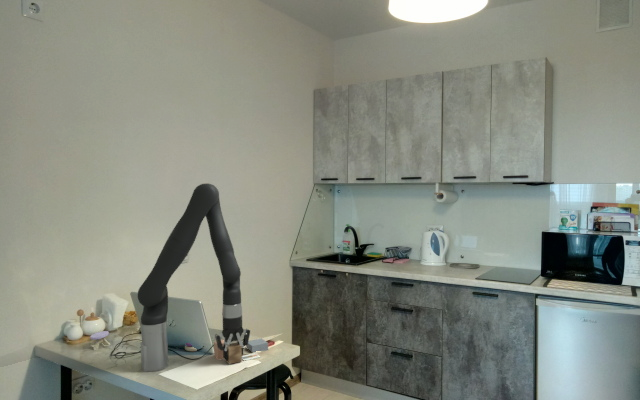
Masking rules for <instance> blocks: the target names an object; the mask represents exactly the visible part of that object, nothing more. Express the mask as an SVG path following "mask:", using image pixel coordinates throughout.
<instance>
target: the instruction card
mask: <svg viewBox="0 0 640 400" xmlns="http://www.w3.org/2000/svg"><path fill="white" fill-rule="evenodd" d="M258 358H261V356H260V355H259V354H257V353H250V354H245V355H243V356H242V359H243V360H244V361H243V360H242V361H243V362H245V360H246V361H251V360H255V359H258Z"/></svg>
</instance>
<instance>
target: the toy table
mask: <svg viewBox="0 0 640 400" xmlns="http://www.w3.org/2000/svg"><path fill="white" fill-rule="evenodd" d="M109 335H110V333H109V331H108V330H104V331H101V330H100V331H98V332H95V333H93V334H91V335H90V337H89V339H90V340H93V341H92V342H91V343H90V345H95V346H94V347H93V349H94V348H97V347H98V346H99V347H100V344H102V343H103V344H104V345H111V343H110V342H109V341H108V340H107V339H106V337H108V336H109ZM90 345H89V346H90ZM104 345H103V346H104Z"/></svg>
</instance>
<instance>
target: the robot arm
mask: <svg viewBox="0 0 640 400" xmlns="http://www.w3.org/2000/svg"><path fill="white" fill-rule="evenodd" d="M205 218H206V221H207V226H208V231H209V236H210V241H211V244H212V247H213V250H214V254H215V257H216V258H217V261H218V265H219V269H220V274H221V276H222V277H221V278H222V312H221V315H222V316H221V317H222V331H221V333H218V334H217V333H216V334H214V338H215V341H216V342H217V346H218V348H219V349H220V350H223V358H224V359H223V360H224V361H226V360H228V351H227V350H228V347H229V345H230V344H231V343H233V342H236V343H238V344H239V345H241V350H242V356H244V347H246V345H248V341H250V334H251V330H250V329H248V328H243V306H242V292H241V276H242V275H241V274H242V271H241V268H240V266H239V264H238V261H237V257H236V256H235V251H234V247H233V244H232V240H231V237H230V234H229V232H228V229H227V226H226V224H225V220H224V217H223V213H222V208H221V201H220V191H219V189H218V188H217V186H215V185H214V184H211V183H201V184H199V185H197V186H196V187H195V188H194V189H193V192H192V194H191V197H190V200H189V202H188V204H187V206H186V208H185V211H184V212H183V214H182V216H181V217H180V219H179V220H178V222H177V223H176V224H175V226H174V228H173V229H172V231H171V232H170V234H169V236H168V237H167V238H166V239H167V240H166V241H165V243H164V245H163V247H162V249H161V251H160V253H159V256H158V257H157V260H156V262H155V264H154V266H153V268H152V270H151V271H150V272H149V274H148V275H147V277H146V278H145V280H144V281H143V283H142V284H141V285H140V287H139V288H138V291H137V300H138V302H139V303H140V304H141V305H142V306H143V309H142V313H141V316H140V325H141V326H140V329H141V330H140V331H141V332H140V333H141V335H140V336H141V342H140V358H141V360H140V361H141V362H140V363H141V368H142V370H143V372H144V373H145V372H156V371H161V370H163V369H166V368H167V367H168V366H169V349H168V323H167V322H168V321H167V319H168V317H167V316H168V312H169V291H168V287H167V286H168V283H169V281H170V279H171V278H172V276H173V275H174V273H175V272H176V271H177V270H178V268H179V267H180V266H181V264H182V263H183V262H184V260H185V259H186V257H187V255H188V254H189V253H190V251H191V249H192V247H193V245H194V243H195V241H196V239H197V236H198V233H199V230H200V228H201V225H202V223H203V221H204V219H205ZM242 335H243V339H242V338H241V337H242ZM223 338H224V339H223ZM221 340H224V345H223V346H222V343H221Z"/></svg>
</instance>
